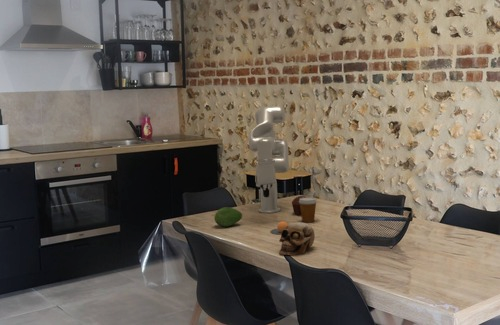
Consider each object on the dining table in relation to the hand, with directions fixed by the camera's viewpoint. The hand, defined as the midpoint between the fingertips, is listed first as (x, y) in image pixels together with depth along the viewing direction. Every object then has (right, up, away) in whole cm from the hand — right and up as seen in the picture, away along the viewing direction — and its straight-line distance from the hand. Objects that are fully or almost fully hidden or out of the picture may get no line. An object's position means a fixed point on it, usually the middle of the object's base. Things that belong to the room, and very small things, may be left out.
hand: (266, 196), depth 332 cm
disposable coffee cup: (+22, -13, +3) cm, 26 cm away
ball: (+8, -14, -20) cm, 26 cm away
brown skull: (+12, -21, -53) cm, 58 cm away
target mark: (+7, -16, -18) cm, 25 cm away
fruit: (-20, -15, -1) cm, 25 cm away
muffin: (+20, -11, +20) cm, 31 cm away
